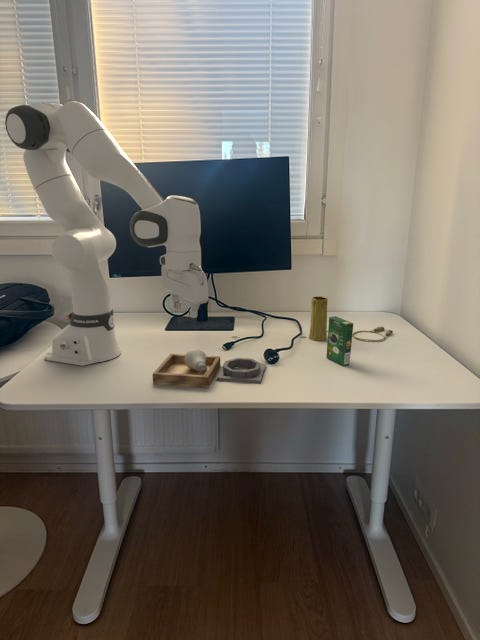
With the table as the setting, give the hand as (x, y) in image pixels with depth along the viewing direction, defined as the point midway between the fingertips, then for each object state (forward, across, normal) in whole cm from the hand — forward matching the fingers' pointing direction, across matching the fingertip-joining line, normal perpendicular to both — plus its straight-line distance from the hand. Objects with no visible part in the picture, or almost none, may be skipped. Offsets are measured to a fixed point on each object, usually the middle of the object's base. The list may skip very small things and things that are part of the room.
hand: (184, 312), depth 117 cm
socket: (+18, -8, -14) cm, 23 cm away
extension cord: (+17, -6, -70) cm, 72 cm away
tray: (+18, -1, 0) cm, 18 cm away
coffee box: (+17, -17, -42) cm, 48 cm away
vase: (+17, +3, -52) cm, 55 cm away
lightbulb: (+14, -7, -2) cm, 16 cm away
